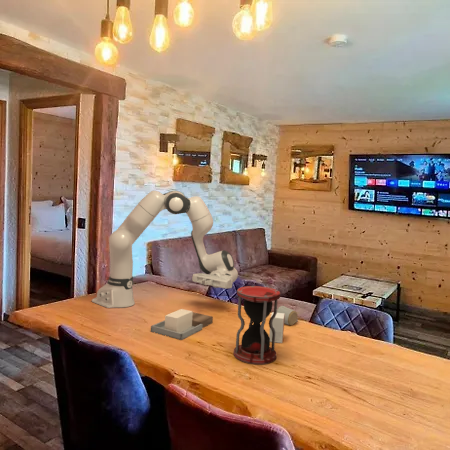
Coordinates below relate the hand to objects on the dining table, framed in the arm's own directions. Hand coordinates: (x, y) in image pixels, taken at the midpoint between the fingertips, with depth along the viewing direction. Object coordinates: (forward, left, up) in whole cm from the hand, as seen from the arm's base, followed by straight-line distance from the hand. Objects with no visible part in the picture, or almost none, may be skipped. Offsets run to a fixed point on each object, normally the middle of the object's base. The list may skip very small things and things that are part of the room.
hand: (203, 283), depth 201 cm
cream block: (+3, -18, -12) cm, 22 cm away
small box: (+42, -7, -16) cm, 46 cm away
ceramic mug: (+38, +17, -16) cm, 45 cm away
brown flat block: (+3, -11, -16) cm, 20 cm away
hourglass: (+42, -28, -16) cm, 53 cm away
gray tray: (+3, -25, -16) cm, 30 cm away
